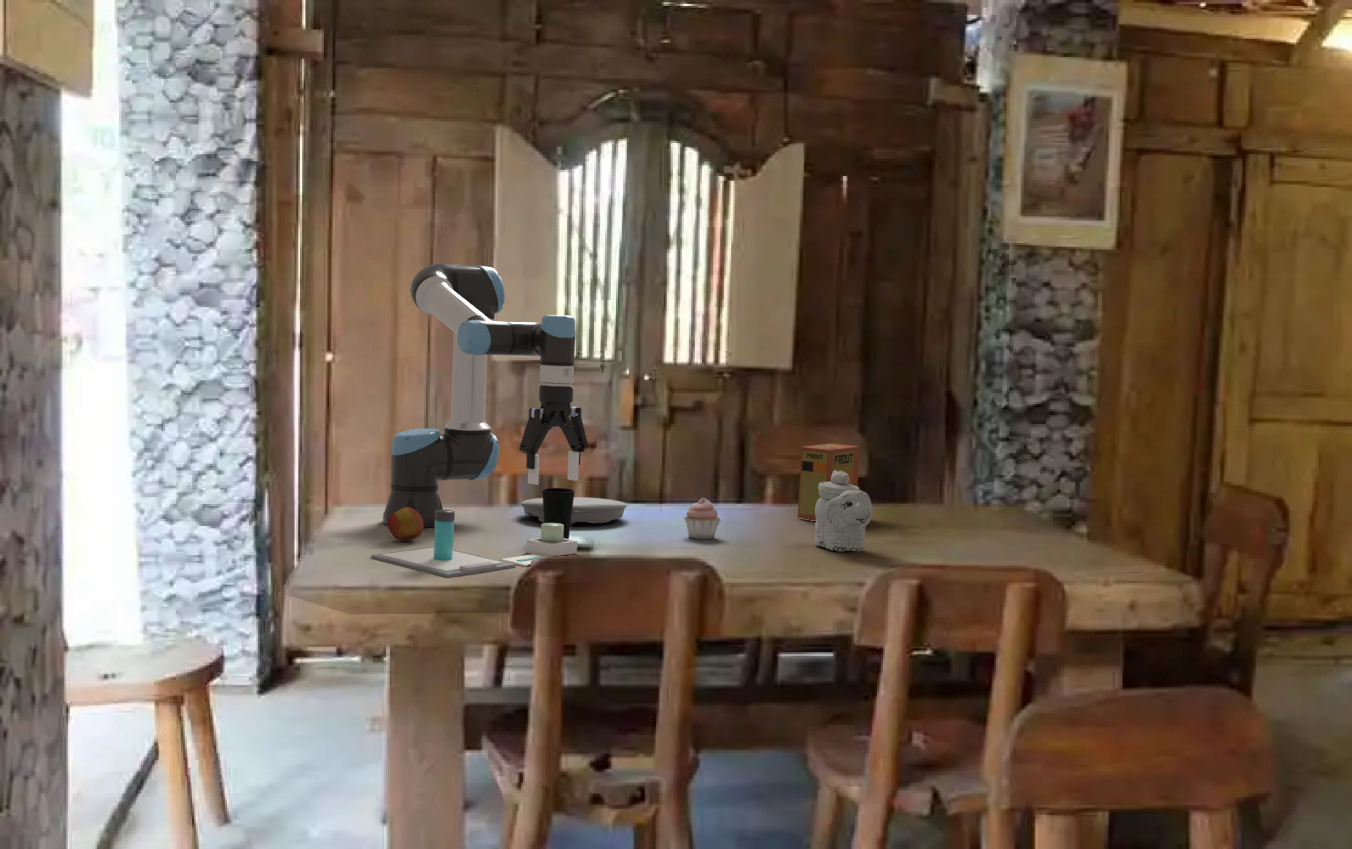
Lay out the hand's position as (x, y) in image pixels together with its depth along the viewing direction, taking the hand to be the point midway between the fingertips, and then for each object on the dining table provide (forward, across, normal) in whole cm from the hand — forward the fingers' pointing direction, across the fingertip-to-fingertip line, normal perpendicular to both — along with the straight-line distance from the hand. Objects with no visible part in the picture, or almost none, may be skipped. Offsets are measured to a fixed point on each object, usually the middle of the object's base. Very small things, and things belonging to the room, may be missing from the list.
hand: (553, 482), depth 297 cm
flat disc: (+17, +38, +32) cm, 53 cm away
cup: (+16, +13, +12) cm, 24 cm away
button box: (+16, 0, 0) cm, 16 cm away
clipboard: (+16, -26, +6) cm, 31 cm away
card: (+16, -10, -4) cm, 19 cm away
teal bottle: (+15, -26, +6) cm, 31 cm away
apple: (+16, -17, +31) cm, 39 cm away
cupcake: (+16, +45, -6) cm, 48 cm away
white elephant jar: (+16, +60, -38) cm, 73 cm away
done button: (+13, 0, 0) cm, 13 cm away
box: (+16, +99, -6) cm, 101 cm away
